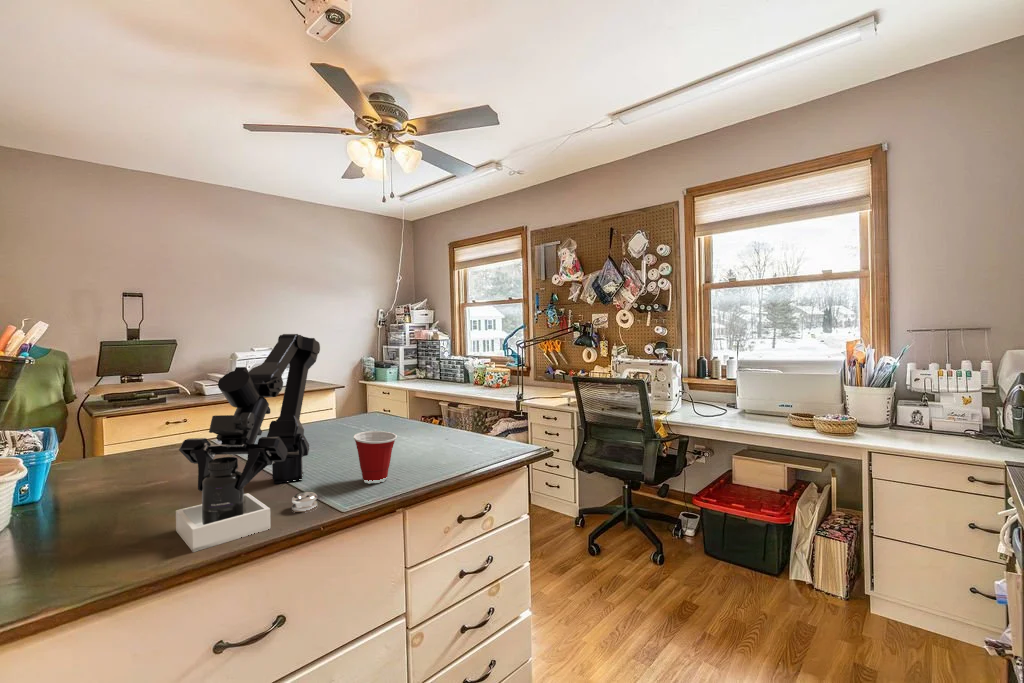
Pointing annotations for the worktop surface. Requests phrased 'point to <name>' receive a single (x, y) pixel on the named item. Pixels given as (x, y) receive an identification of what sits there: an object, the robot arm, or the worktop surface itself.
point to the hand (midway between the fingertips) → (219, 489)
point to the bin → (221, 525)
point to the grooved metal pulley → (304, 501)
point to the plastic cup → (374, 453)
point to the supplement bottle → (222, 491)
